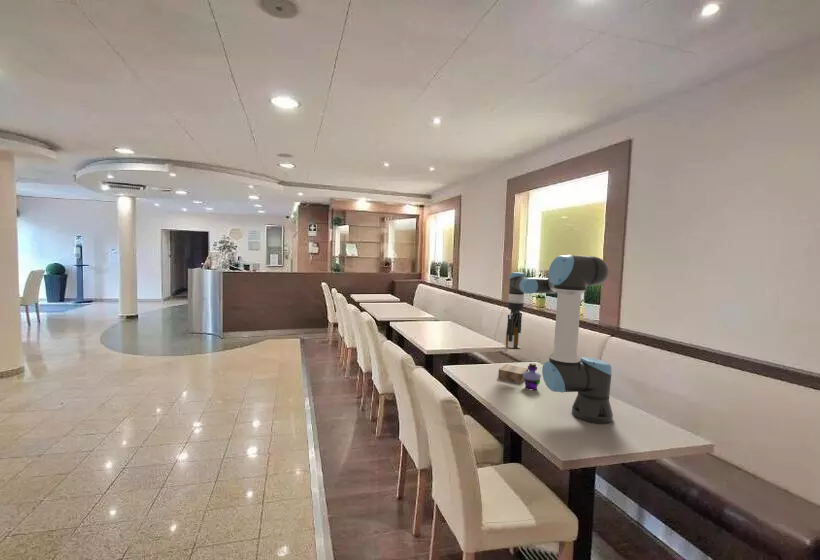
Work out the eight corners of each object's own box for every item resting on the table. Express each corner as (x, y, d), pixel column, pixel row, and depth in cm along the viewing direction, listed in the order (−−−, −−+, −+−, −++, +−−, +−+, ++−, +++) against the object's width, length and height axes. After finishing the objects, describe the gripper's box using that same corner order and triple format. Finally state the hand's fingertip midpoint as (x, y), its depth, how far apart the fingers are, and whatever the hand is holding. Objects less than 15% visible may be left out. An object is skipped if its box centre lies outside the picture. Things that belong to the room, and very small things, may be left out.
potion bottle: (539, 392, 185) (540, 367, 184) (520, 388, 188) (522, 364, 188) (541, 387, 193) (543, 363, 192) (523, 383, 196) (525, 360, 195)
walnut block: (527, 377, 207) (528, 368, 207) (521, 383, 197) (521, 374, 197) (505, 373, 214) (506, 364, 213) (498, 378, 204) (498, 369, 203)
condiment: (503, 345, 208) (505, 323, 207) (520, 346, 207) (521, 324, 206) (506, 349, 201) (507, 326, 200) (522, 350, 200) (524, 326, 199)
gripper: (516, 300, 212) (513, 342, 214) (501, 302, 197) (498, 348, 198) (529, 301, 207) (526, 344, 209) (515, 304, 192) (512, 350, 194)
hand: (513, 346), depth 204 cm, fingers closed on condiment, 6 cm apart
